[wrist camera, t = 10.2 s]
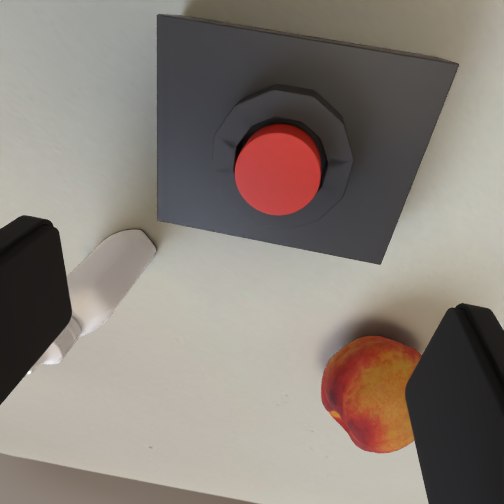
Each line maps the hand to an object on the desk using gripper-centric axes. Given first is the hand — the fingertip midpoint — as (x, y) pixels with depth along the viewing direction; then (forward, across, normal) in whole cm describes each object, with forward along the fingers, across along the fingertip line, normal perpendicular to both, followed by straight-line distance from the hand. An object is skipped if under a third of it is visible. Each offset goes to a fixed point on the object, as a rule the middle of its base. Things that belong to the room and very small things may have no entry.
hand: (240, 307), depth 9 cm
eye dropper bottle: (+17, +11, +11) cm, 23 cm away
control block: (+16, 0, 0) cm, 16 cm away
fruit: (+17, -10, +16) cm, 25 cm away
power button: (+11, 0, 0) cm, 11 cm away
